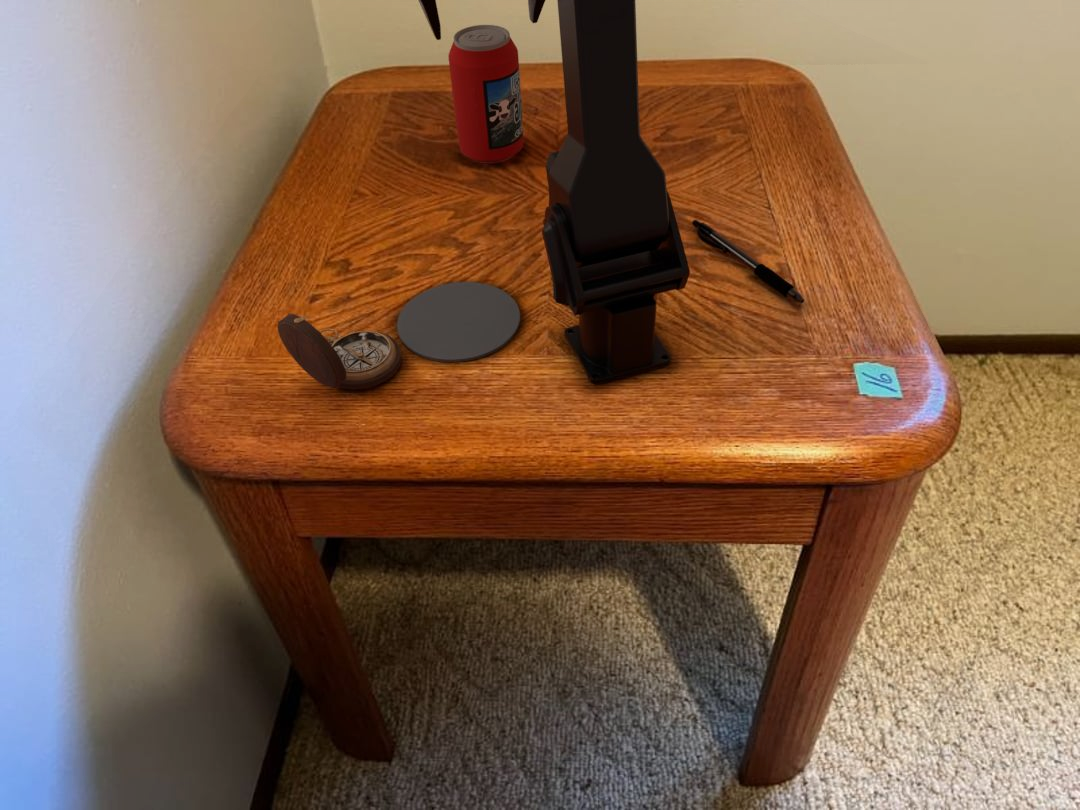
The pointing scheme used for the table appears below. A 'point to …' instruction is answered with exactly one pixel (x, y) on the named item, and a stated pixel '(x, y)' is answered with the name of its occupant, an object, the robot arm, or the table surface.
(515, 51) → the beverage can
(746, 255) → the pen
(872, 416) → the table surface
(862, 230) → the table surface
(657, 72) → the table surface
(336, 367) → the compass
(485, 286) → the felt coaster
